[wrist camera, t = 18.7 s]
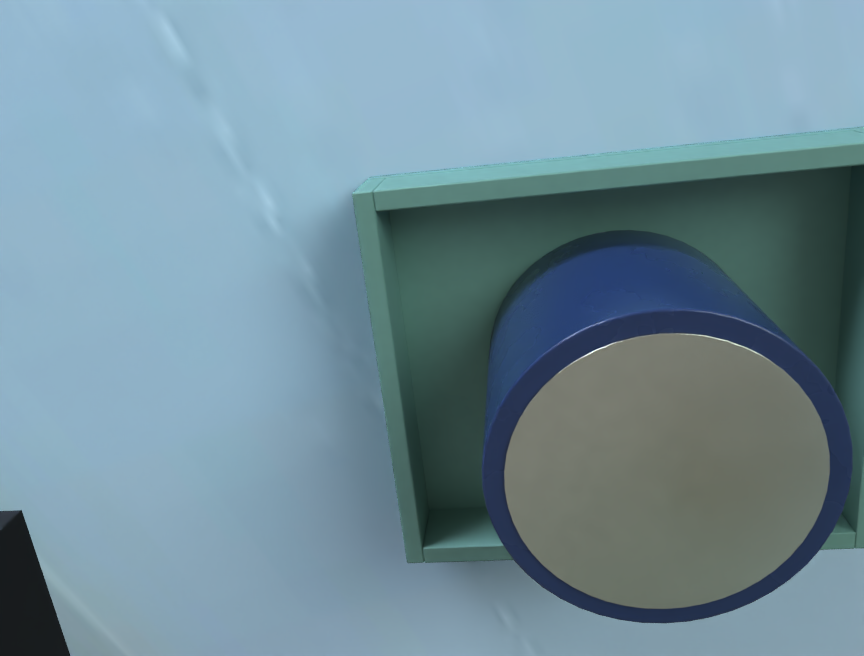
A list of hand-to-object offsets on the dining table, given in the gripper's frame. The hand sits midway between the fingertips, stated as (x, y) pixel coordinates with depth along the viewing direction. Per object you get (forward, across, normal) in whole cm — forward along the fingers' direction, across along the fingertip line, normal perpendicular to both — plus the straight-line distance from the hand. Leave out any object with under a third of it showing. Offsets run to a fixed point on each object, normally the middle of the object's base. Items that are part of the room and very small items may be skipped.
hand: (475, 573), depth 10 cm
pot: (+17, +5, -11) cm, 21 cm away
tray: (+22, +5, -6) cm, 24 cm away
